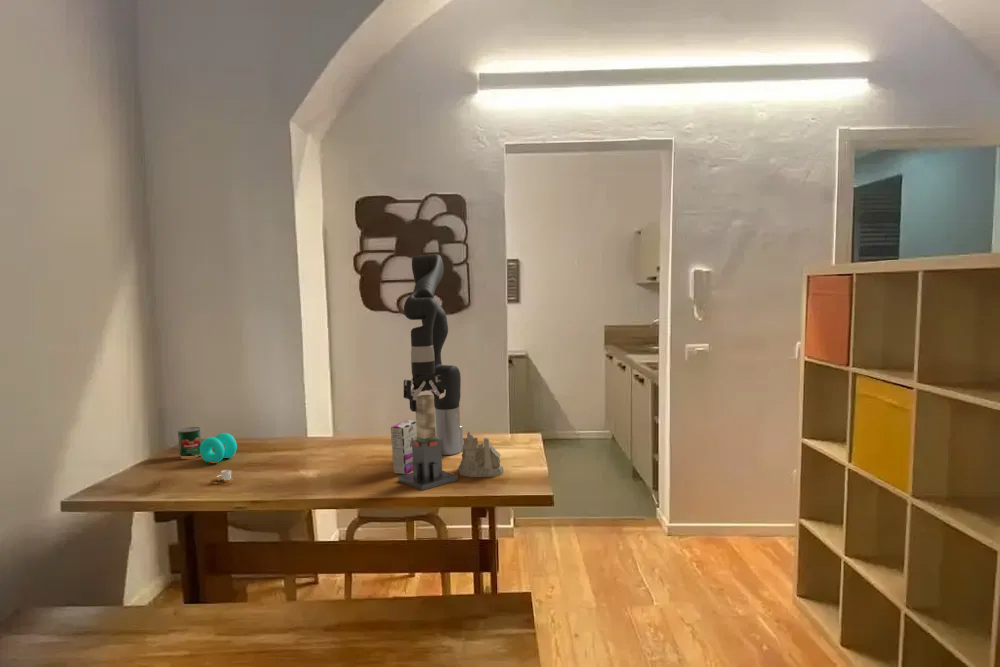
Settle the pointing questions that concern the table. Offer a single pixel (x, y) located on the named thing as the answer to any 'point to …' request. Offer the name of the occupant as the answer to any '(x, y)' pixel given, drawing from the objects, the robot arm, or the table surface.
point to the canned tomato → (189, 441)
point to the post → (425, 418)
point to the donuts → (218, 447)
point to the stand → (427, 466)
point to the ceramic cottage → (479, 459)
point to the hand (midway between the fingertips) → (425, 409)
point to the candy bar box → (403, 446)
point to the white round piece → (225, 474)
